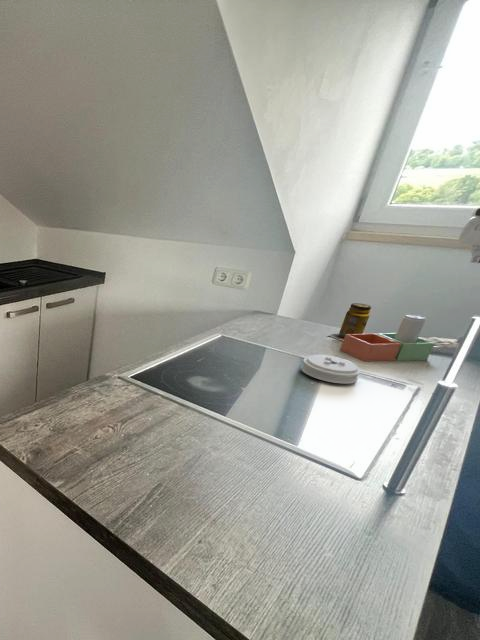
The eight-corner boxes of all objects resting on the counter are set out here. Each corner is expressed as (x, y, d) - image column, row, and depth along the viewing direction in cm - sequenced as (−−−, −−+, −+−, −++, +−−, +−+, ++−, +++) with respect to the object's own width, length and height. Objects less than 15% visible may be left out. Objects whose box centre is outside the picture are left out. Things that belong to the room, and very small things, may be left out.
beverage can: (404, 350, 124) (420, 314, 119) (413, 356, 120) (430, 319, 115) (386, 349, 125) (400, 313, 120) (394, 354, 121) (410, 318, 116)
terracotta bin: (368, 349, 127) (374, 333, 125) (394, 360, 119) (401, 343, 116) (339, 349, 127) (345, 333, 125) (363, 361, 119) (370, 344, 116)
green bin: (398, 348, 127) (405, 332, 125) (427, 360, 119) (435, 343, 116) (370, 349, 127) (377, 333, 125) (396, 360, 119) (404, 343, 116)
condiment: (367, 340, 134) (380, 306, 129) (347, 342, 132) (359, 308, 128) (345, 333, 141) (357, 301, 136) (326, 335, 139) (337, 303, 134)
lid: (320, 364, 118) (325, 349, 116) (367, 382, 107) (374, 365, 104) (289, 370, 114) (294, 355, 112) (334, 389, 103) (341, 372, 101)
